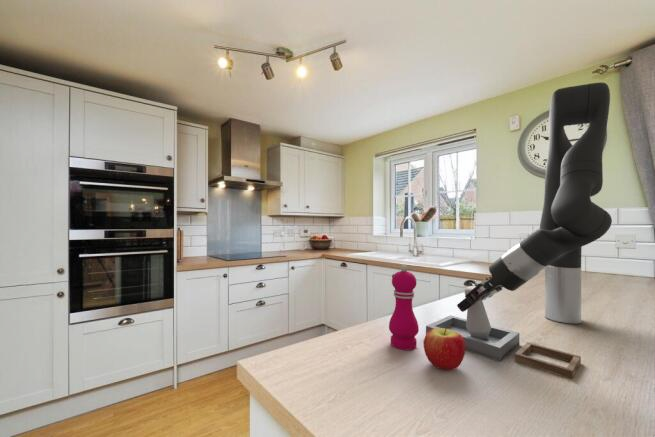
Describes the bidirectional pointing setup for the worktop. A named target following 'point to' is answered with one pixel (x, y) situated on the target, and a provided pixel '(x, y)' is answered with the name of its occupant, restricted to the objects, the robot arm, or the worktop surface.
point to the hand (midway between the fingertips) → (464, 306)
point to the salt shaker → (477, 319)
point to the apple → (444, 348)
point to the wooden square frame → (567, 372)
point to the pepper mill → (403, 311)
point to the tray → (491, 347)
